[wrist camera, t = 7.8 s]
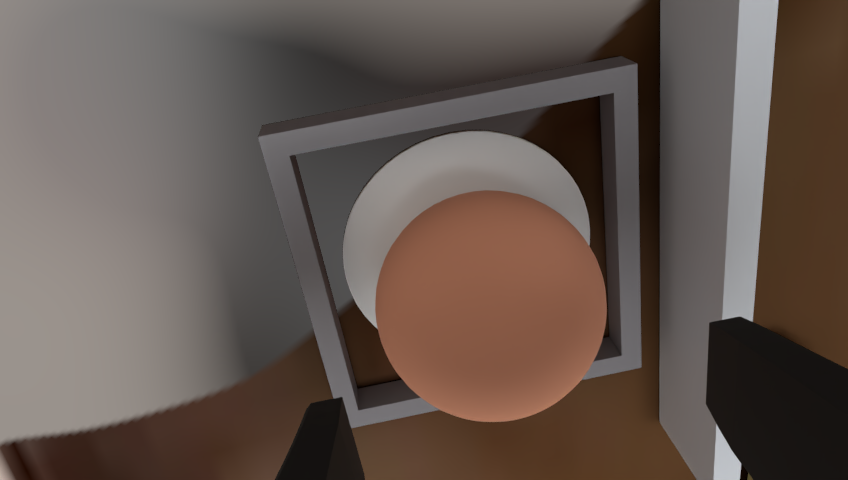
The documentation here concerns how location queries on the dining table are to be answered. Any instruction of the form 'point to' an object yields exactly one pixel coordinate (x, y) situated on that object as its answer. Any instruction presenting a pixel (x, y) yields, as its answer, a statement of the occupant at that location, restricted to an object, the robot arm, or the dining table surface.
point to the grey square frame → (452, 175)
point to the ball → (491, 306)
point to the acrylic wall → (708, 201)
